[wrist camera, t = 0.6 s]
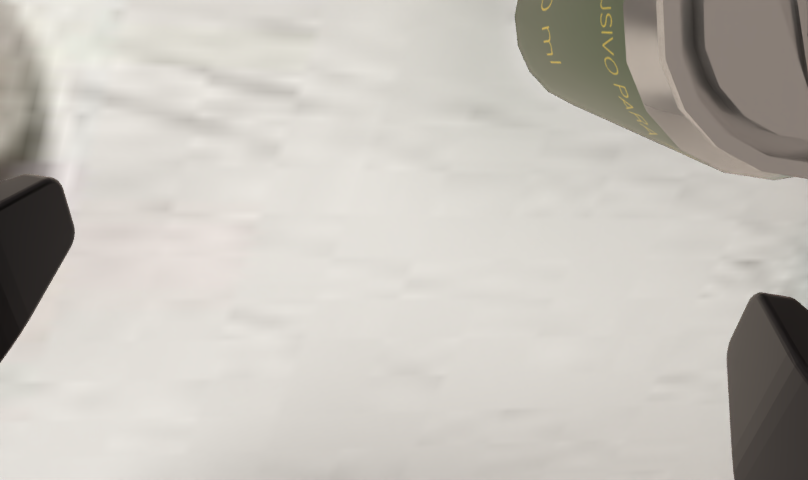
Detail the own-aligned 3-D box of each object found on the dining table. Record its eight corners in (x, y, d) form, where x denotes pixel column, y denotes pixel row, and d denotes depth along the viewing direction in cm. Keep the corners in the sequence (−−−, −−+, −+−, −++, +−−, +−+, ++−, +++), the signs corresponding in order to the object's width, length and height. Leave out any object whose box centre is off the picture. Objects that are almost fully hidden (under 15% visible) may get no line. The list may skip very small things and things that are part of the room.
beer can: (703, 74, 21) (1056, 128, 10) (536, 128, 22) (686, 240, 10) (668, -108, 20) (1039, -296, 8) (489, -45, 20) (605, -140, 9)
